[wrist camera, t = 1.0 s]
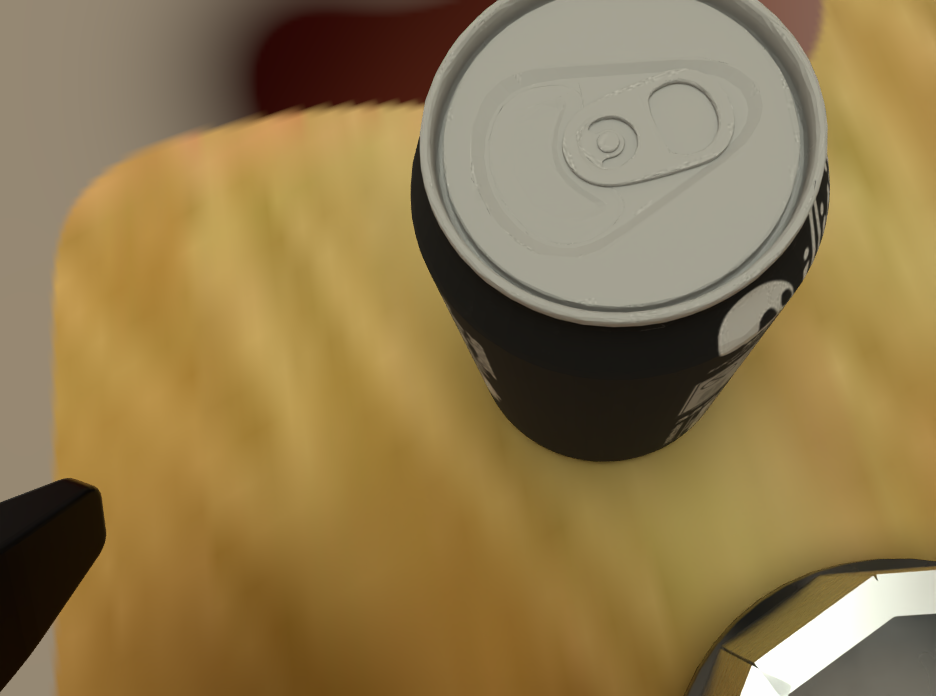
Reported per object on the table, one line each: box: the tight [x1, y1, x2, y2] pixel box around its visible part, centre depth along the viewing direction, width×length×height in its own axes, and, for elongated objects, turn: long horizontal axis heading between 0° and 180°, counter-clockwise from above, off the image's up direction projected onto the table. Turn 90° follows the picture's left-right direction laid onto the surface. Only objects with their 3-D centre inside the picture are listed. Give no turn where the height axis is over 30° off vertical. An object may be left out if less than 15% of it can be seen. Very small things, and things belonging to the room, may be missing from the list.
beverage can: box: [411, 0, 830, 461], centre depth 18 cm, size 7×7×12 cm
